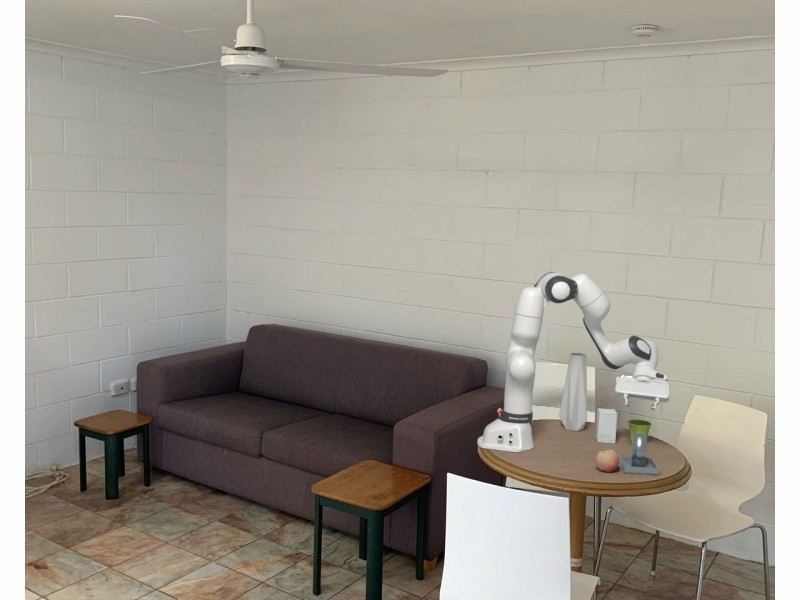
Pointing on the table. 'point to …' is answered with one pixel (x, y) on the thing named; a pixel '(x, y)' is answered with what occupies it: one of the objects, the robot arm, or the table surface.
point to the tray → (649, 469)
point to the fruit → (607, 460)
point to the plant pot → (638, 427)
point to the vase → (575, 394)
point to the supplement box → (606, 425)
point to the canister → (639, 450)
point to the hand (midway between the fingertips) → (640, 407)
